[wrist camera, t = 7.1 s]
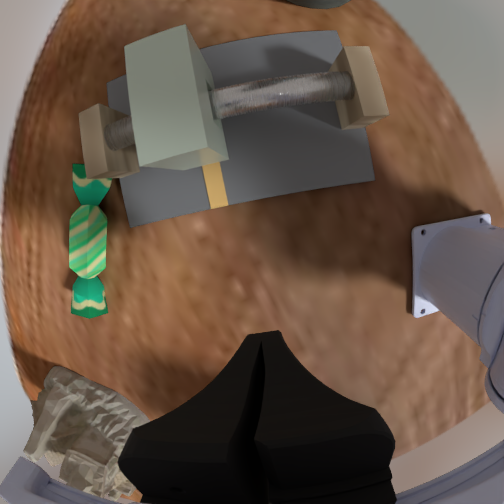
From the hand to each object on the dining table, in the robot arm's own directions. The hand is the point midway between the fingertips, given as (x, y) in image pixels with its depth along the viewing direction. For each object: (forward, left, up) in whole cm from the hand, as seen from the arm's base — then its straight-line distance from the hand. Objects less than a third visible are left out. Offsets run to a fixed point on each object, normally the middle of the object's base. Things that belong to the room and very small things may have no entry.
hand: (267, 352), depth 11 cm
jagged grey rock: (+24, +17, -11) cm, 31 cm away
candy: (+13, -5, -11) cm, 18 cm away
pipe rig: (0, -11, -10) cm, 15 cm away
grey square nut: (+2, -11, -8) cm, 14 cm away
